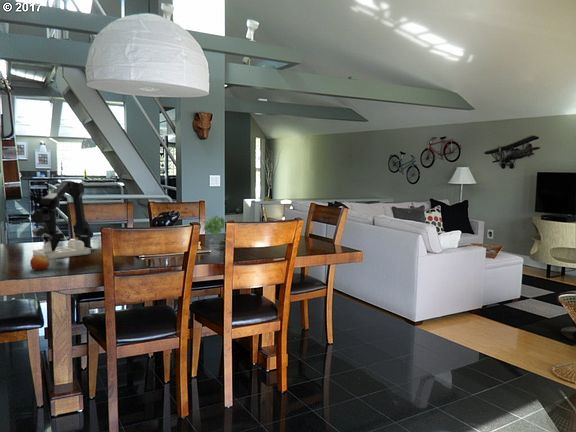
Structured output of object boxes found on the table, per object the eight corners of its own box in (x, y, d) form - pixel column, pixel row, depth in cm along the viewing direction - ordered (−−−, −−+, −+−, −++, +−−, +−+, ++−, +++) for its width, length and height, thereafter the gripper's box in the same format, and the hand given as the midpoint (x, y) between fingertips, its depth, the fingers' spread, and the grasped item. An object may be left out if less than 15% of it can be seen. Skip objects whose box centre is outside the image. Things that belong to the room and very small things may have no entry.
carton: (76, 250, 265) (76, 237, 264) (90, 253, 255) (90, 240, 254) (33, 255, 246) (32, 241, 246) (46, 259, 236) (45, 245, 235)
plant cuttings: (226, 248, 319) (201, 229, 317) (241, 229, 318) (216, 210, 316) (221, 258, 284) (192, 236, 282) (238, 237, 283) (209, 215, 281)
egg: (53, 252, 245) (53, 239, 245) (57, 253, 242) (57, 240, 242) (43, 253, 242) (43, 240, 241) (48, 254, 238) (47, 241, 238)
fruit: (31, 265, 216) (39, 250, 216) (46, 273, 217) (54, 259, 217) (22, 268, 208) (31, 253, 208) (38, 277, 209) (47, 262, 209)
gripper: (26, 220, 240) (27, 250, 241) (41, 224, 228) (42, 254, 230) (48, 219, 249) (49, 247, 250) (64, 222, 237) (65, 252, 238)
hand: (51, 250), depth 242 cm, fingers closed on egg, 5 cm apart
